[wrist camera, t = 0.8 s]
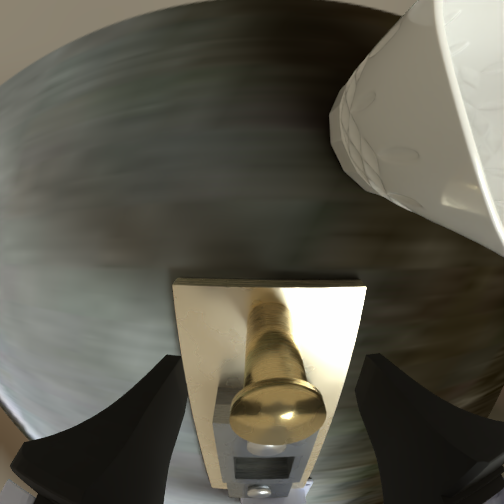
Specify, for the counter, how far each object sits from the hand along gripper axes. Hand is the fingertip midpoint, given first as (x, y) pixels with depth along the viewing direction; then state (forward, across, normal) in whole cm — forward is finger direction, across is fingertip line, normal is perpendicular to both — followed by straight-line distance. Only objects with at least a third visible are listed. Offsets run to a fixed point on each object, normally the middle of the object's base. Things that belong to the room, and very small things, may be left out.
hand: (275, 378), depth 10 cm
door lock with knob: (+5, 0, +11) cm, 12 cm away
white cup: (+6, -6, -10) cm, 13 cm away
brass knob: (+4, 0, 0) cm, 4 cm away
